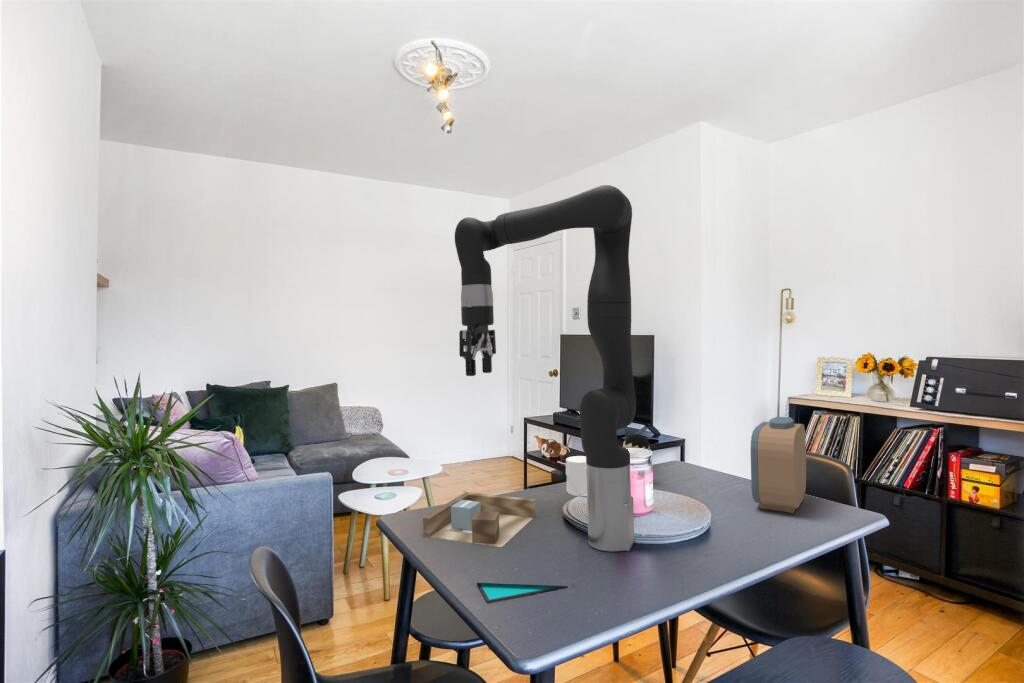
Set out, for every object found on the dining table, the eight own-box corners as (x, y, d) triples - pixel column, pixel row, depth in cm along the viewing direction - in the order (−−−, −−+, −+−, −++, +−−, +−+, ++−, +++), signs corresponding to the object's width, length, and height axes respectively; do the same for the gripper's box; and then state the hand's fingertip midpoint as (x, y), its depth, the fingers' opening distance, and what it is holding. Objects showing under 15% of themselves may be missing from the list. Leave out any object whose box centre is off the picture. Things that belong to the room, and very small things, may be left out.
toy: (650, 481, 158) (649, 431, 158) (654, 488, 151) (652, 436, 151) (621, 482, 159) (620, 432, 159) (623, 488, 152) (622, 436, 152)
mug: (559, 457, 153) (581, 454, 156) (559, 490, 153) (582, 485, 156) (582, 466, 142) (606, 462, 146) (583, 501, 142) (607, 496, 146)
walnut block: (499, 534, 117) (498, 512, 117) (495, 543, 112) (494, 520, 112) (477, 534, 117) (476, 511, 117) (472, 543, 112) (471, 519, 112)
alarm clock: (767, 490, 146) (765, 412, 146) (806, 496, 141) (804, 415, 140) (751, 512, 130) (749, 424, 129) (795, 519, 124) (792, 427, 124)
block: (462, 520, 125) (461, 499, 125) (481, 523, 123) (480, 501, 123) (451, 528, 121) (450, 505, 121) (470, 530, 119) (470, 508, 119)
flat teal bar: (476, 582, 96) (552, 568, 101) (476, 586, 96) (552, 572, 101) (487, 601, 89) (568, 585, 94) (487, 606, 89) (568, 590, 94)
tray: (535, 520, 128) (535, 499, 128) (501, 552, 110) (501, 527, 110) (466, 512, 136) (465, 492, 136) (423, 541, 117) (422, 517, 117)
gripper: (476, 307, 132) (478, 372, 132) (447, 304, 119) (450, 376, 119) (504, 305, 129) (506, 372, 129) (477, 303, 116) (480, 377, 116)
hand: (479, 374), depth 124 cm, fingers open, 8 cm apart
